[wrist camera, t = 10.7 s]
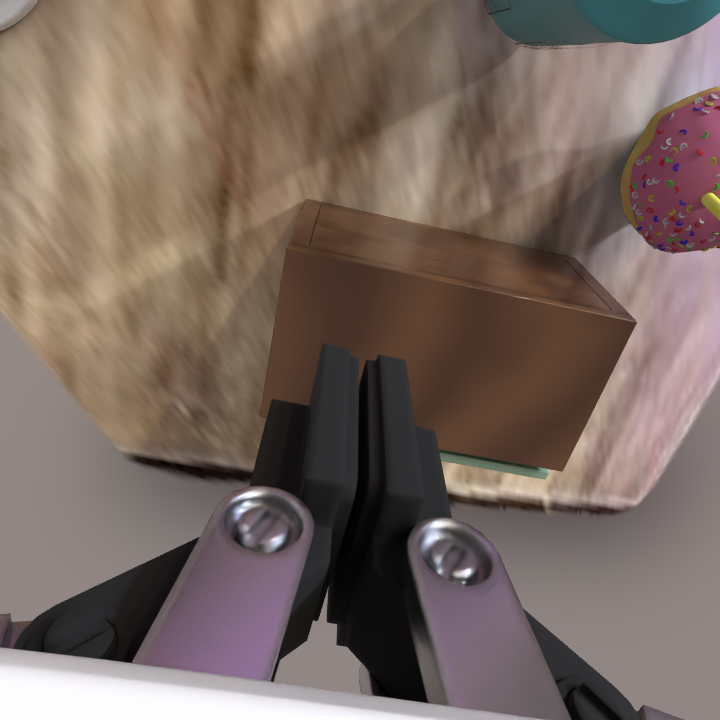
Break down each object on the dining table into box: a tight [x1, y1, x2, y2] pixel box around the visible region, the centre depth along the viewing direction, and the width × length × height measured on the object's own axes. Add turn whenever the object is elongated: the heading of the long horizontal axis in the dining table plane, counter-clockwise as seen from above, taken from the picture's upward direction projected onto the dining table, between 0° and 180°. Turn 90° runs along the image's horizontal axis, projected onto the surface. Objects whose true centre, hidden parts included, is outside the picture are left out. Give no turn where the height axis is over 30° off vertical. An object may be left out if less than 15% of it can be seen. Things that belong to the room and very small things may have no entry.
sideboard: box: [260, 199, 637, 471], centre depth 35 cm, size 18×10×10 cm, turn 78°
